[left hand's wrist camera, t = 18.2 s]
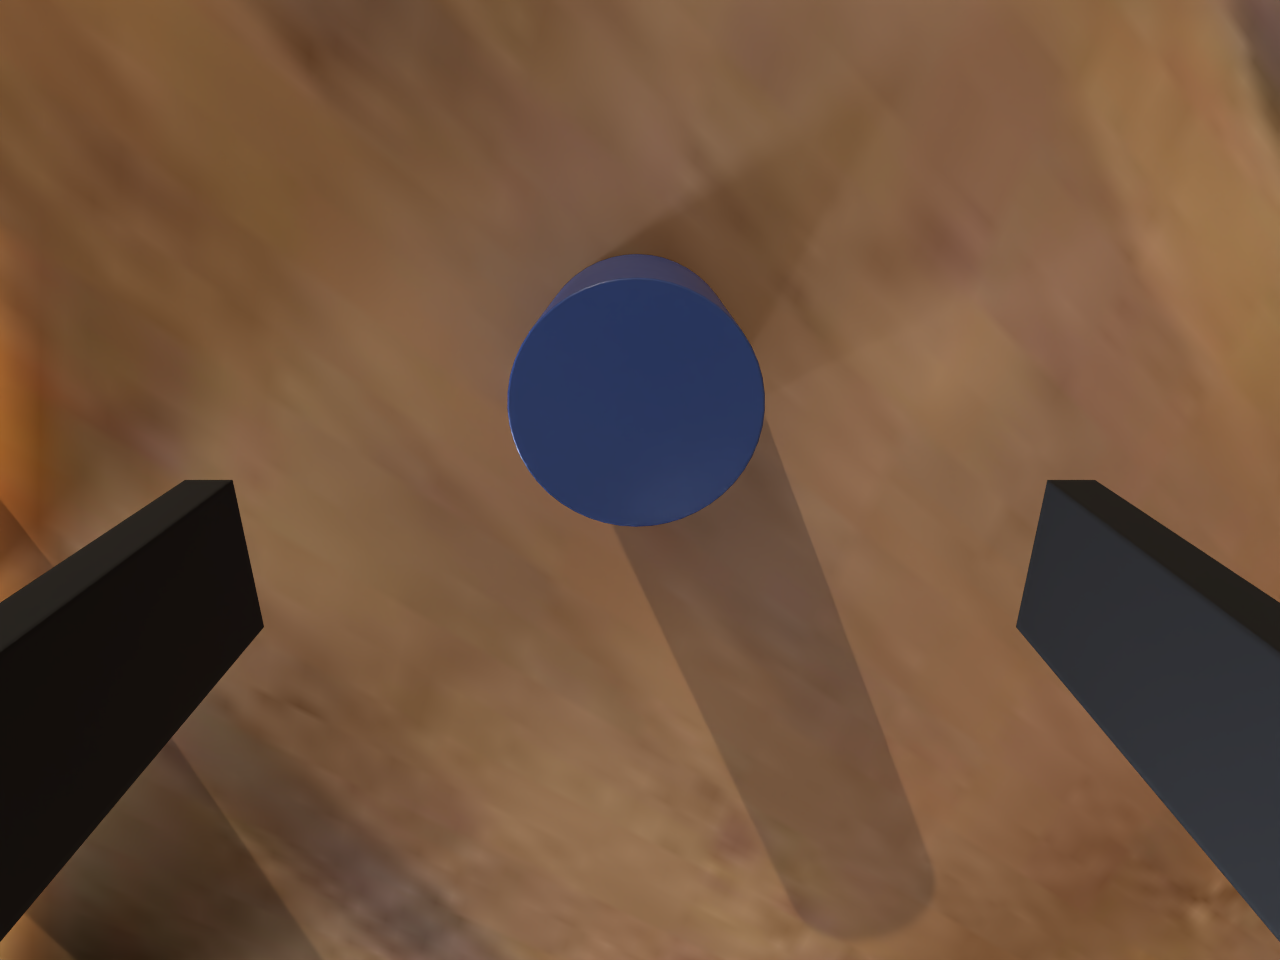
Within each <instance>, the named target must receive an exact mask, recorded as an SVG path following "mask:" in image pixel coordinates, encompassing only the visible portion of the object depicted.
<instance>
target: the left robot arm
mask: <svg viewBox="0 0 1280 960" xmlns="http://www.w3.org/2000/svg"><path fill="white" fill-rule="evenodd" d="M263 627H264V625H263V620H262V615H261V611H260V606H259V601H258V597H257V592H256V587H255V583H254V578H253V573H252V569H251V564H250V559H249V555H248V550H247V545H246V541H245V536H244V531H243V527H242V522H241V517H240V513H239V508H238V503H237V499H236V494H235V489H234V485H233V480H184V481H183V482H181V483H180V484H178V485H177V486H175V487H174V488H172V489H171V490H169V491H168V492H166V493H165V494H163V495H162V496H160V497H159V498H157V499H156V500H154V501H153V502H151V503H150V504H148V505H147V506H145V507H144V508H142V509H141V510H139V511H138V512H136V513H135V514H133V515H132V516H130V517H129V518H127V519H126V520H124V521H123V522H121V523H120V524H118V525H117V526H115V527H114V528H112V529H111V530H109V531H108V532H106V533H105V534H103V535H102V536H100V537H99V538H97V539H96V540H94V541H93V542H91V543H90V544H88V545H87V546H85V547H84V548H82V549H81V550H79V551H78V552H76V553H75V554H73V555H72V556H70V557H69V558H67V559H66V560H64V561H62V562H61V563H59V564H58V565H56V566H55V567H53V568H52V569H50V570H49V571H47V572H46V573H44V574H43V575H41V576H40V577H38V578H37V579H35V580H34V581H32V582H31V583H29V584H28V585H26V586H25V587H23V588H22V589H20V590H19V591H17V592H16V593H14V594H13V595H11V596H10V597H8V598H7V599H5V600H4V601H2V602H1V603H0V941H1V940H2V939H3V938H4V937H5V936H6V934H7V933H8V932H9V931H10V930H11V928H12V927H13V926H14V925H15V924H16V922H17V921H18V920H19V919H20V918H21V916H22V915H23V914H24V913H25V912H26V910H27V909H28V908H29V907H30V906H31V904H32V903H33V902H34V901H35V900H36V898H37V897H38V896H39V895H40V894H41V893H42V891H43V890H44V889H45V888H46V887H47V885H48V884H49V883H50V882H51V881H52V879H53V878H54V877H55V876H56V875H57V873H58V872H59V871H60V870H61V869H62V867H63V866H64V865H65V864H66V863H67V861H68V860H69V859H70V858H71V857H72V856H73V854H74V853H75V852H76V851H77V850H78V848H79V847H80V846H81V845H82V844H83V842H84V841H85V840H86V839H87V838H88V836H89V835H90V834H91V833H92V832H93V830H94V829H95V828H96V827H97V826H98V824H99V823H100V822H101V821H102V820H103V818H104V817H105V816H106V815H107V814H108V813H109V811H110V810H111V809H112V808H113V807H114V805H115V804H116V803H117V802H118V801H119V799H120V798H121V797H122V796H123V795H124V793H125V792H126V791H127V790H128V789H129V787H130V786H131V785H132V784H133V783H134V781H135V780H136V779H137V778H138V777H139V775H140V774H141V773H142V772H143V771H144V770H145V768H146V767H147V766H148V765H149V764H150V762H151V761H152V760H153V759H154V758H155V756H156V755H157V754H158V753H159V752H160V750H161V749H162V748H163V747H164V746H165V744H166V743H167V742H168V741H169V740H170V738H171V737H172V736H173V735H174V734H175V732H176V731H177V730H178V729H179V728H180V727H181V725H182V724H183V723H184V722H185V721H186V719H187V718H188V717H189V716H190V715H191V713H192V712H193V711H194V710H195V709H196V707H197V706H198V705H199V704H200V703H201V701H202V700H203V699H204V698H205V697H206V695H207V694H208V693H209V692H210V691H211V690H212V688H213V687H214V686H215V685H216V684H217V682H218V681H219V680H220V679H221V678H222V676H223V675H224V674H225V673H226V672H227V670H228V669H229V668H230V667H231V666H232V664H233V663H234V662H235V661H236V660H237V658H238V657H239V656H240V655H241V654H242V652H243V651H244V650H245V649H246V648H247V647H248V645H249V644H250V643H251V642H252V641H253V639H254V638H255V637H256V636H257V635H258V633H259V632H260V631H261V630H262V629H263ZM1016 627H1017V629H1018V630H1019V631H1020V632H1021V633H1022V635H1023V636H1024V637H1025V638H1026V639H1027V641H1028V642H1029V643H1030V644H1031V645H1032V647H1033V648H1034V649H1035V650H1036V651H1037V652H1038V654H1039V655H1040V656H1041V657H1042V658H1043V660H1044V661H1045V662H1046V663H1047V664H1048V666H1049V667H1050V668H1051V669H1052V670H1053V672H1054V673H1055V674H1056V675H1057V676H1058V678H1059V679H1060V680H1061V681H1062V682H1063V684H1064V685H1065V686H1066V687H1067V688H1068V690H1069V691H1070V692H1071V693H1072V694H1073V695H1074V697H1075V698H1076V699H1077V700H1078V701H1079V703H1080V704H1081V705H1082V706H1083V707H1084V709H1085V710H1086V711H1087V712H1088V713H1089V715H1090V716H1091V717H1092V718H1093V719H1094V721H1095V722H1096V723H1097V724H1098V725H1099V727H1100V728H1101V729H1102V730H1103V731H1104V732H1105V734H1106V735H1107V736H1108V737H1109V738H1110V740H1111V741H1112V742H1113V743H1114V744H1115V746H1116V747H1117V748H1118V749H1119V750H1120V752H1121V753H1122V754H1123V755H1124V756H1125V758H1126V759H1127V760H1128V761H1129V762H1130V764H1131V765H1132V766H1133V767H1134V768H1135V770H1136V771H1137V772H1138V773H1139V774H1140V775H1141V777H1142V778H1143V779H1144V780H1145V781H1146V783H1147V784H1148V785H1149V786H1150V787H1151V789H1152V790H1153V791H1154V792H1155V793H1156V795H1157V796H1158V797H1159V798H1160V799H1161V801H1162V802H1163V803H1164V804H1165V805H1166V807H1167V808H1168V809H1169V810H1170V811H1171V813H1172V814H1173V815H1174V816H1175V817H1176V818H1177V820H1178V821H1179V822H1180V823H1181V824H1182V826H1183V827H1184V828H1185V829H1186V830H1187V832H1188V833H1189V834H1190V835H1191V836H1192V838H1193V839H1194V840H1195V841H1196V842H1197V844H1198V845H1199V846H1200V847H1201V848H1202V850H1203V851H1204V852H1205V853H1206V854H1207V855H1208V857H1209V858H1210V859H1211V860H1212V861H1213V863H1214V864H1215V865H1216V866H1217V867H1218V869H1219V870H1220V871H1221V872H1222V873H1223V875H1224V876H1225V877H1226V878H1227V879H1228V881H1229V882H1230V883H1231V884H1232V885H1233V887H1234V888H1235V889H1236V890H1237V891H1238V893H1239V894H1240V895H1241V896H1242V897H1243V898H1244V900H1245V901H1246V902H1247V903H1248V904H1249V906H1250V907H1251V908H1252V909H1253V910H1254V912H1255V913H1256V914H1257V915H1258V916H1259V918H1260V919H1261V920H1262V921H1263V922H1264V924H1265V925H1266V926H1267V927H1268V928H1269V930H1270V931H1271V932H1272V933H1273V934H1274V936H1275V937H1276V938H1277V939H1278V940H1279V941H1280V603H1279V602H1278V601H1276V600H1275V599H1273V598H1272V597H1270V596H1269V595H1267V594H1266V593H1264V592H1263V591H1261V590H1260V589H1258V588H1257V587H1255V586H1254V585H1252V584H1251V583H1249V582H1248V581H1246V580H1245V579H1243V578H1242V577H1240V576H1239V575H1237V574H1236V573H1234V572H1233V571H1231V570H1230V569H1228V568H1227V567H1225V566H1224V565H1222V564H1221V563H1219V562H1217V561H1216V560H1214V559H1213V558H1211V557H1210V556H1208V555H1207V554H1205V553H1204V552H1202V551H1201V550H1199V549H1198V548H1196V547H1195V546H1193V545H1192V544H1190V543H1189V542H1187V541H1186V540H1184V539H1183V538H1181V537H1180V536H1178V535H1177V534H1175V533H1174V532H1172V531H1171V530H1169V529H1168V528H1166V527H1165V526H1163V525H1162V524H1160V523H1159V522H1157V521H1156V520H1154V519H1153V518H1151V517H1150V516H1148V515H1147V514H1145V513H1144V512H1142V511H1141V510H1139V509H1138V508H1136V507H1135V506H1133V505H1132V504H1130V503H1129V502H1127V501H1126V500H1124V499H1123V498H1121V497H1120V496H1118V495H1117V494H1115V493H1114V492H1112V491H1111V490H1109V489H1108V488H1106V487H1105V486H1103V485H1102V484H1100V483H1099V482H1097V481H1096V480H1047V485H1046V489H1045V494H1044V499H1043V503H1042V508H1041V513H1040V517H1039V522H1038V527H1037V531H1036V536H1035V541H1034V545H1033V550H1032V555H1031V559H1030V564H1029V569H1028V573H1027V578H1026V583H1025V587H1024V592H1023V597H1022V601H1021V606H1020V611H1019V615H1018V620H1017V625H1016Z"/></svg>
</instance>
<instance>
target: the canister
mask: <svg viewBox="0 0 1280 960" xmlns="http://www.w3.org/2000/svg"><path fill="white" fill-rule="evenodd" d="M764 412H765V392H764V385H763V378H762V374H761V370H760V367H759V363H758V360H757V358H756V356H755V353H754V351H753V349H752V347H751V345H750V343H749V341H748V340H747V338H746V337H745V335H744V333H743V332H742V330H741V329H740V327H739V326H738V325H737V323H736V322H735V320H734V319H733V318H732V316H731V315H730V313H729V312H728V311H727V309H726V308H725V306H724V305H723V304H722V302H721V301H720V299H719V298H718V297H717V295H716V294H715V293H714V292H713V290H712V289H711V288H710V287H709V285H708V284H706V283H705V282H704V281H703V280H702V279H701V278H700V277H699V276H698V275H696V274H695V273H693V272H692V271H691V270H689V269H688V268H686V267H684V266H682V265H680V264H678V263H676V262H674V261H671V260H668V259H665V258H662V257H657V256H652V255H642V254H631V255H621V256H616V257H611V258H608V259H605V260H602V261H599V262H597V263H595V264H593V265H591V266H589V267H587V268H585V269H584V270H583V271H581V272H580V273H578V274H577V275H575V276H574V277H573V278H572V279H571V280H570V281H569V282H568V283H567V284H566V285H565V286H564V287H563V288H562V289H561V291H560V292H559V293H558V294H557V296H556V297H555V298H554V300H553V301H552V302H551V304H550V305H549V306H548V308H547V309H546V310H545V312H544V313H543V314H542V316H541V317H540V318H539V320H538V321H537V322H536V324H535V325H534V326H533V328H532V329H531V330H530V332H529V334H528V335H527V337H526V338H525V340H524V342H523V343H522V345H521V347H520V349H519V352H518V354H517V356H516V358H515V361H514V364H513V368H512V371H511V375H510V380H509V387H508V416H509V424H510V428H511V432H512V436H513V440H514V442H515V445H516V447H517V450H518V452H519V454H520V456H521V458H522V460H523V462H524V463H525V465H526V467H527V469H528V470H529V471H530V473H531V474H532V475H533V477H534V478H535V479H536V481H537V482H538V483H539V484H540V485H541V486H542V487H543V488H544V489H545V490H546V491H547V492H548V493H549V494H550V495H552V496H553V497H554V498H555V499H557V500H558V501H559V502H560V503H562V504H563V505H565V506H567V507H568V508H570V509H572V510H573V511H575V512H577V513H579V514H582V515H584V516H586V517H588V518H591V519H594V520H597V521H601V522H604V523H609V524H614V525H620V526H635V527H637V526H653V525H658V524H664V523H669V522H672V521H675V520H678V519H682V518H684V517H686V516H689V515H691V514H693V513H695V512H697V511H699V510H701V509H703V508H704V507H706V506H708V505H709V504H711V503H712V502H713V501H715V500H716V499H717V498H719V497H720V496H721V495H722V494H724V493H725V492H726V491H727V490H728V489H729V488H730V487H731V486H732V485H733V484H734V482H735V481H736V480H737V479H738V477H739V476H740V475H741V473H742V472H743V471H744V469H745V468H746V466H747V464H748V462H749V461H750V459H751V457H752V455H753V453H754V451H755V448H756V446H757V443H758V441H759V437H760V434H761V430H762V426H763V419H764Z"/></svg>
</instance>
